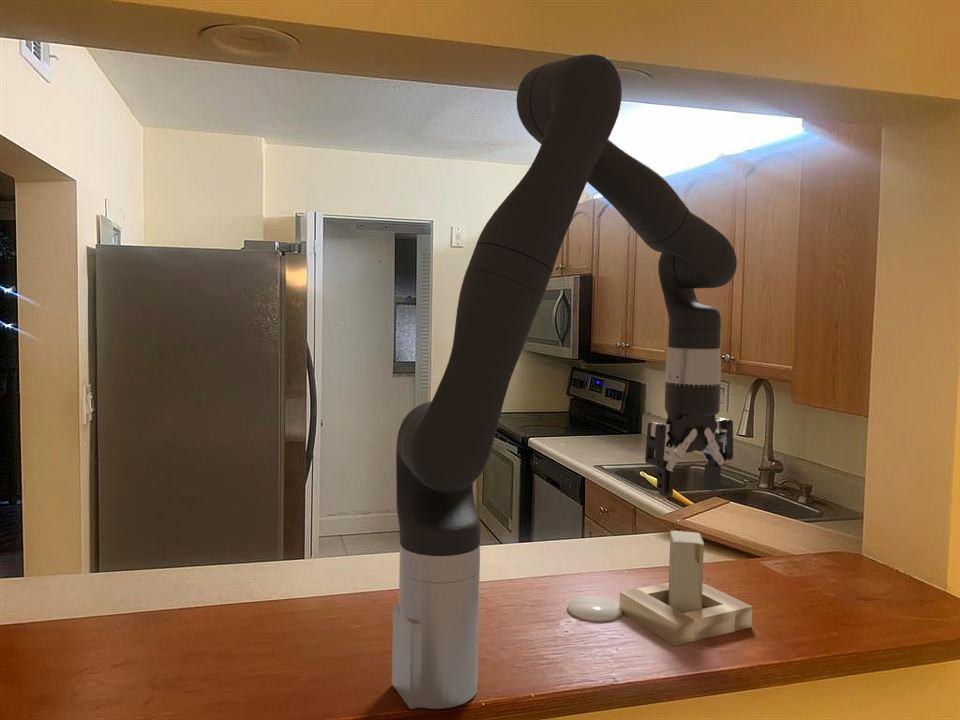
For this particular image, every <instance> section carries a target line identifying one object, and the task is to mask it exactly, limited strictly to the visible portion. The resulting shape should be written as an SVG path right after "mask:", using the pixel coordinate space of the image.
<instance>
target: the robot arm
mask: <svg viewBox="0 0 960 720" xmlns="http://www.w3.org/2000/svg"><path fill="white" fill-rule="evenodd" d="M619 73H620V72H619V71H618V69H617V67H616V65H615V64H614V63H613V61H612V60H610V59H609V58H607V57H606V56H604V55H601V54H597V53H585V54H584V53H583V54H578V55H574V56H570V57H569V56H568V57H566V58H562V59H558V60H555V61H550V62H547V63H543V64H541V65H539V66H537V67H535V68H532V69H531V70H530V71H529V72H527V73H526V74H525V75H524V77H523V78H522V80H521V81H520V83H519V86H518V89H517V92H516V93H517V94H516V110H517V114H518V118H519V120H520V122H521V124H522V126H523V127H524V129H525V130H526V131H527V133H528V134H530V136H531V137H532V138H533V139H534V140H536V141H537V142H538V143H539V144H540V147H539V149H538V151H537V154H536V156H535V158H534V159H533V162H532V164H531V166H529V168H528V170H527V171H526V173H525V175H524V176H523V177H522V178H521V180H520V181H519V182H518V184H516V186H515V187H514V188H513V189H512V191H510V192H509V194H508V195H507V196H506V198H505V199H504V200H503V201H502V202H501V204H499V206H498V207H497V209H495V211H494V213H493V214H492V215H491V216H490V218H489V220H488V221H487V222H485V223H486V224H485V225H484V227H483V229H482V231H481V233H480V235H479V237H478V239H477V241H476V244H475V247H474V249H473V253H472V255H471V258H470V260H469V263H468V266H467V268H466V270H465V274H464V277H463V279H462V280H463V281H462V284H461V287H460V291H459V296H458V302H457V309H456V316H455V323H454V324H455V325H454V334H453V342H452V348H451V352H450V354H449V355H450V356H449V359H448V362H447V365H446V368H445V371H444V373H443V375H442V378H441V380H440V382H439V384H438V387H437V390H436V391H435V394H434V396H433V398H432V400H431V401H428V402H424V403H421V404H419V405H417V406H416V407H414V408H413V409H412V410H410V411H409V412H408V413H407V415H406V416H405V417H404V419H403V420H402V422H401V423H400V426H399V429H398V432H397V437H396V439H397V440H396V448H395V449H396V451H395V452H396V453H395V454H396V456H395V457H396V464H395V465H396V467H395V468H396V469H395V470H396V474H395V475H396V478H395V479H396V486H395V487H396V513H397V519H398V520H397V521H398V526H399V573H398V575H399V577H398V578H399V579H398V580H399V583H398V584H399V587H398V589H399V591H398V592H399V593H398V604H395V605H393V606H392V647H391V648H392V650H391V651H392V657H391V658H392V659H391V662H392V664H391V665H392V666H391V667H392V668H391V669H392V670H391V685H392V687H393V688H394V690H396V692H397V693H398V695H399V696H400V697H401V699H402V700H403V702H404V703H405V704H406V706H407V707H408V709H410V710H414V709H418V708H419V709H420V708H423V709H431V710H441V709H451V708H454V707H458V706H461V705H463V704H466V703H467V702H469V701H470V700H472V699H473V698H474V697H475V695H476V694H477V693H478V683H479V681H478V680H479V679H478V677H479V625H480V622H479V620H480V617H479V616H480V576H481V575H480V573H481V572H480V570H481V567H480V566H481V532H482V531H481V519H480V517H479V513H478V511H477V508H476V507H477V506H476V503H475V498H474V483H475V482H476V481H477V479H478V478H479V477H480V476H481V475H482V474H483V471H484V470H485V468H486V466H487V463H488V462H489V459H490V456H491V454H492V453H491V452H492V449H493V446H494V442H495V437H496V433H497V430H498V425H499V421H500V419H501V418H500V417H501V415H502V409H503V406H504V402H505V399H506V395H507V391H508V388H509V385H510V382H511V378H512V376H513V373H514V371H515V368H516V367H517V363H518V362H519V359H520V356H521V354H522V351H523V350H524V346H525V345H526V341H527V338H528V336H529V334H530V330H531V328H532V325H533V323H534V321H535V318H536V316H537V313H538V311H539V308H540V306H541V304H542V301H543V299H544V296H545V294H546V293H545V292H546V290H547V288H548V285H549V283H550V280H551V277H552V275H553V271H554V267H555V265H556V261H557V259H558V255H559V253H560V250H561V247H562V244H563V242H564V240H565V238H566V235H567V233H568V230H569V227H570V225H571V222H572V220H573V217H574V214H575V212H576V209H577V206H578V204H579V201H580V199H581V197H582V194H583V193H584V190H585V188H586V185H587V183H588V184H589V185H590V186H591V187H592V188H594V190H596V191H597V192H598V193H599V194H600V195H601V196H602V197H603V199H605V200H606V201H607V202H608V203H610V205H611V206H612V207H613V208H614V209H615V210H616V211H617V212H618V213H619V214H620V215H621V216H622V218H624V220H625V221H626V222H627V224H629V226H630V228H632V229H633V231H634V232H635V233H636V234H637V236H639V237H640V238H641V240H643V242H644V243H645V244H646V245H647V247H649V248H650V249H651V250H653V251H655V252H658V253H660V256H659V258H658V267H657V269H658V277H659V283H660V286H661V291H662V294H663V298H664V304H665V307H666V311H667V316H668V341H667V342H668V343H667V344H668V345H667V346H668V348H667V355H666V360H665V376H664V377H665V380H664V382H665V384H664V386H665V387H664V410H665V411H666V414H667V417H666V418H667V419H666V420H665V422H664V423H660V422H655V421H649V422H648V424H647V430H646V431H647V432H646V433H647V434H646V444H645V445H646V446H645V454H644V455H645V458H644V462H645V464H648V465H651V466H654V467H655V468H656V489H657V492H658V494H659V495H661V496H664V497H666V498H669V497H672V496H673V495H674V472H675V471H674V470H673V469H674V467H675V466H676V464H677V462H678V460H679V459H681V458H683V457H684V455H685V453H692V452H694V451H697V452H699V453H701V455H702V456H703V458H704V459H705V461H706V462H707V463H704V472H703V473H704V477H703V487H704V489H705V490H708V491H711V492H715V491H718V490H719V487H720V485H721V473H722V472H721V470H722V469H721V468H722V466H723V465H724V464H725V461H731V460H733V458H734V422H733V420H732V419H729V418H725V417H719V416H718V417H717V416H716V415H718V414H719V413H720V409H721V408H720V407H721V406H720V405H721V381H722V380H721V378H722V377H721V376H722V375H721V374H722V360H721V349H720V348H721V328H722V327H721V326H722V323H721V322H722V317H721V314H720V311H719V310H718V309H717V308H715V307H713V306H710V305H706V304H705V305H704V304H702V303H700V302H699V301H698V298H697V296H696V293H695V292H696V291H695V289H715V288H720V287H723V286H725V285H727V284H728V283H729V282H731V280H732V279H733V277H734V275H735V274H736V272H737V265H738V259H737V254H736V251H735V249H734V246H733V244H732V243H731V242H730V241H729V239H728V238H727V237H726V236H725V235H724V234H723V233H721V231H719V230H718V229H716V228H715V227H714V226H712V225H711V224H710V223H708V222H706V221H705V220H704V219H703V218H701V217H699V216H698V215H696V214H694V213H693V212H691V210H689V208H688V207H687V205H686V204H685V203H684V201H683V200H682V199H681V198H680V196H679V195H678V193H677V192H676V190H674V188H673V187H672V186H671V185H670V183H668V181H667V180H665V179H664V177H662V175H660V174H659V173H658V172H657V171H655V170H654V169H652V168H651V167H650V166H648V165H647V164H645V163H643V162H642V161H640V160H639V159H637V158H635V157H634V156H632V155H631V154H629V153H628V152H626V151H625V150H623V149H622V148H621V147H619V146H617V145H616V144H615V143H614V142H613V141H612V140H610V139H609V138H610V136H611V135H612V132H613V129H614V127H615V126H616V122H617V120H618V116H619V114H620V110H621V103H622V99H623V98H622V97H623V96H622V95H623V93H622V92H623V91H622V89H623V88H622V80H621V77H620V74H619ZM673 447H674V448H673Z"/></svg>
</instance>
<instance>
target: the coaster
mask: <svg viewBox="0 0 960 720" xmlns="http://www.w3.org/2000/svg"><path fill="white" fill-rule="evenodd" d="M619 605H620V602H617V601H616V600H614V599H612V598H609V597H606V596H605V597H604V596H600V595H580V596H575V597H573V598H571V599H569V601H568V602H567V610H568V612H569V613H570V614H571V615H572V616H574V617H576V618H578V619H582V620H586V621H590V622H601V623H602V622H611V621H615V620H617V619H619V618H621V616H622V615H623V614H622V609H621V608H619Z"/></svg>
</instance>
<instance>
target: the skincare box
mask: <svg viewBox="0 0 960 720" xmlns="http://www.w3.org/2000/svg"><path fill="white" fill-rule="evenodd" d="M669 536H670V537H669V564H668V565H669V567H668V583H669V594H668V605H669V606H670V607H672V608H674V609H676V610H678V611H680V612H681V613H687V612H691V611H696V610H700V609H702V584H703V582H704V581H703V578H704V575H703V574H704V551H705V550H704V548H705V542H704V540H703V537H702V535H701V532H693V531H681V530H670V532H669Z"/></svg>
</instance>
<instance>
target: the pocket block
mask: <svg viewBox="0 0 960 720" xmlns="http://www.w3.org/2000/svg"><path fill="white" fill-rule="evenodd" d="M668 594H669V582H665V583H660V584H654V585H649V586H644V587H639V588H638V587H637V588H633V589H628V590H623V591H622V590H621V591H619V604H620V605H619V608H621V609H622V615H624V616H625V615H626V617H627V618H629V619H631V620H632V621H634V622H635V621H636V622H635V623H637V624H639V625H640V626H642V627H643V626H644V628H645V629H647V630H648V631H650V632H651V633H654V634H655V635H656V636H658V637H660V638H661V639H663V640H665V642H668V643H670V644H671V645H673V646H675V647H676V646H680V645H684V644H688V643H693V642H697V641H701V640H705V639H709V638H713V637H717V636H721V635H724V634H729V633H733V632H737V631H742V630H745V629H750V628H752V626H753V625H752V624H753V605H750V604H748V603H746V602H744V601H743V600H742V601H741V600H739V599H737V598H735V597H734V596H731V595H729V594H727V593H726V592H722V591H721V590H718V589H717V588H714V587H712V586H710V585H708V584H706V583H703V584H702V609H700V610H696V611H691V612H687V613H681V612H680V611H678V610H676V609H674V608H672V607H670V606H669V605H668Z"/></svg>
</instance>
